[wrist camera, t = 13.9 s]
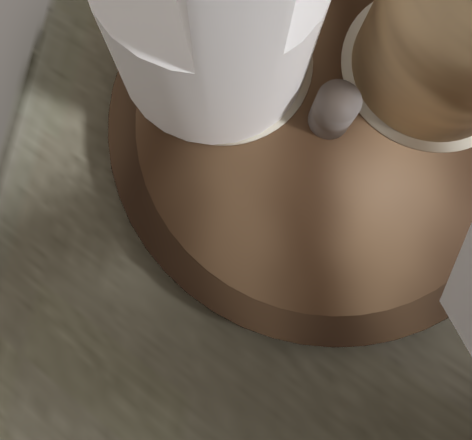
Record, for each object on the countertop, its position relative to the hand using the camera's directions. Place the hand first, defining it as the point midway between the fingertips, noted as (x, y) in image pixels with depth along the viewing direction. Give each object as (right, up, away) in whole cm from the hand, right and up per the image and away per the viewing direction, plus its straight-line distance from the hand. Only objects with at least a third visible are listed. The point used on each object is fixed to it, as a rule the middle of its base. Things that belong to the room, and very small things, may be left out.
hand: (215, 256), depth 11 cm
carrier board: (+5, +5, +10) cm, 13 cm away
